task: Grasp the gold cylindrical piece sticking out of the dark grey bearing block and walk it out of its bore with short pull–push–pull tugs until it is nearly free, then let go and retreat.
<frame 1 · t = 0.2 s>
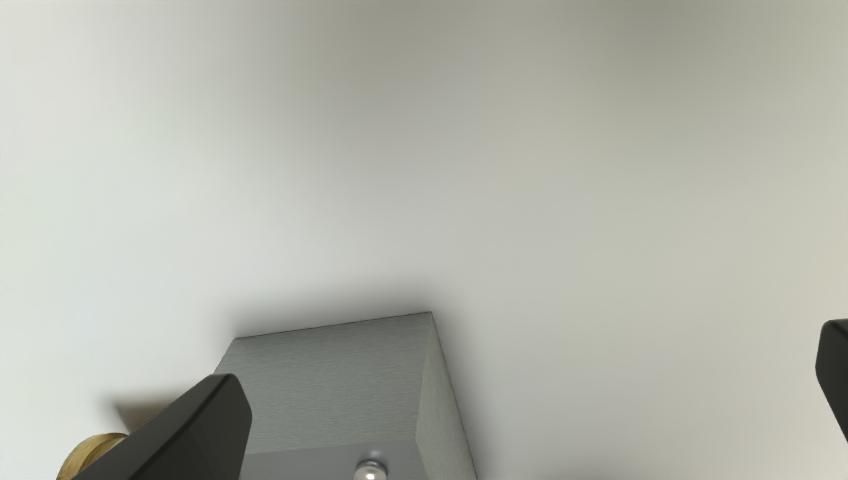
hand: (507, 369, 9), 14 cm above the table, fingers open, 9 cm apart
bearing block: (363, 416, 30), on the table
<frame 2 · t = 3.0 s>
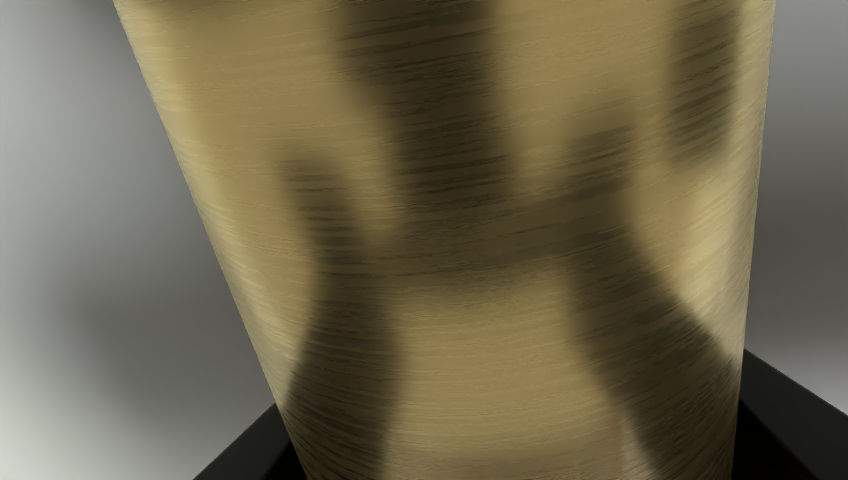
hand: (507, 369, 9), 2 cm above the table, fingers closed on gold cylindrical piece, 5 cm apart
gold cylindrical piece: (458, 106, 6), point 3 cm above the table, slide at 4.0 cm, touching gripper
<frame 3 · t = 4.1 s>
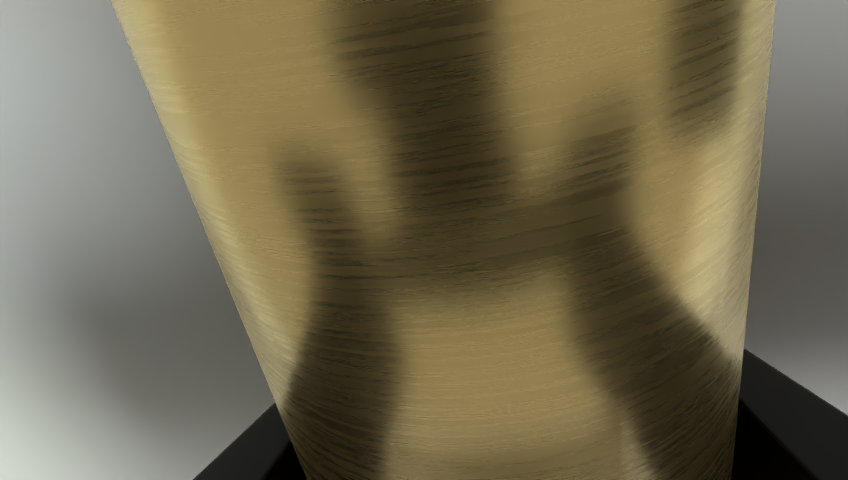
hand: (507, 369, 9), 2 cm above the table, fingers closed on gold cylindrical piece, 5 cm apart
gold cylindrical piece: (458, 107, 6), point 3 cm above the table, slide at 5.7 cm, touching gripper
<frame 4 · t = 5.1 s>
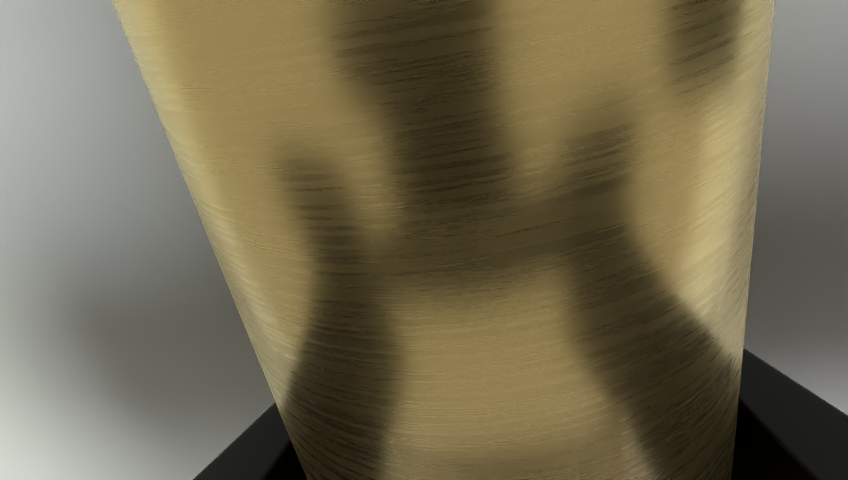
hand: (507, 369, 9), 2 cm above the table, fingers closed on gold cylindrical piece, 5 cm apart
gold cylindrical piece: (458, 106, 6), point 3 cm above the table, slide at 7.8 cm, touching gripper
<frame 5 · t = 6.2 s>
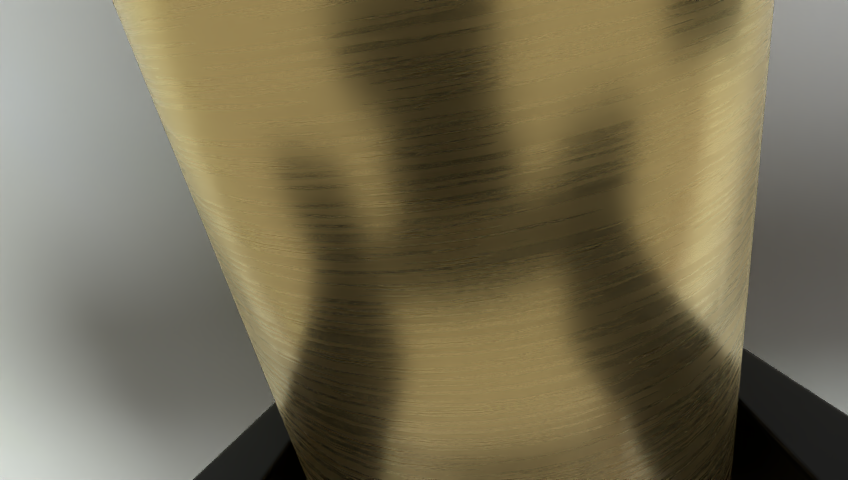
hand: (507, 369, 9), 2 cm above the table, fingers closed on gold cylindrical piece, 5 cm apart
gold cylindrical piece: (457, 105, 6), point 3 cm above the table, slide at 9.9 cm, touching gripper
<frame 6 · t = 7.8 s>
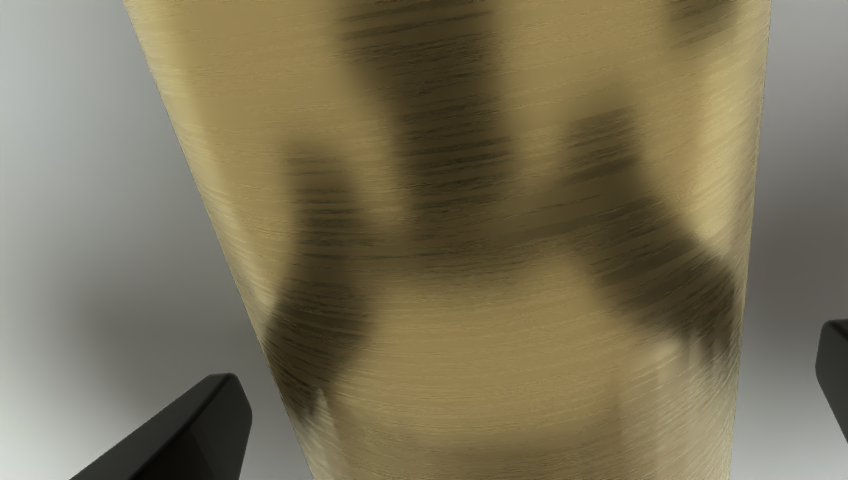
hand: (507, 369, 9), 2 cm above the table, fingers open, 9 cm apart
gold cylindrical piece: (459, 96, 6), point 3 cm above the table, slide at 9.9 cm
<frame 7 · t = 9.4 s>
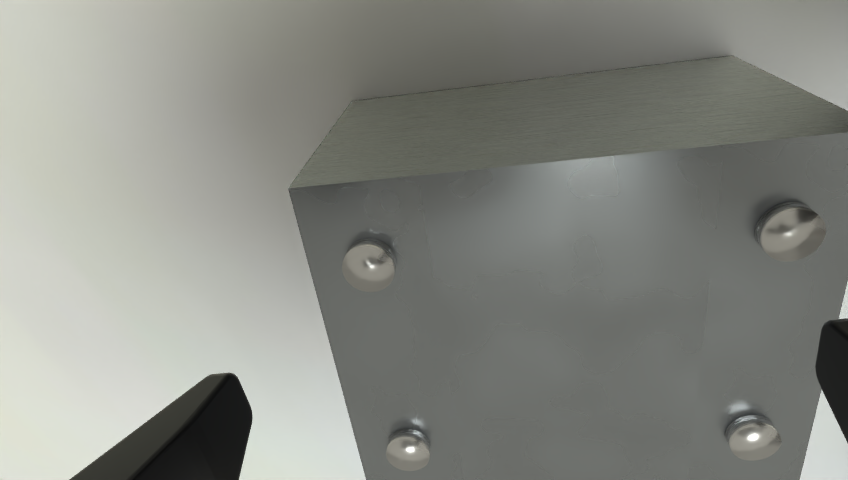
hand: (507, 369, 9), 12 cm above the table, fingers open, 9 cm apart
bearing block: (540, 219, 21), on the table
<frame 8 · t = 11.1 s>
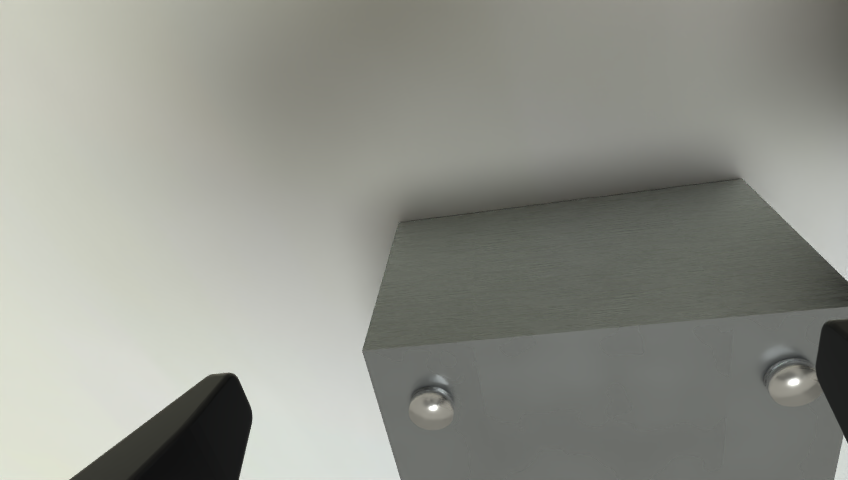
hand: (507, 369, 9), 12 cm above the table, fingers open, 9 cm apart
bearing block: (571, 315, 23), on the table
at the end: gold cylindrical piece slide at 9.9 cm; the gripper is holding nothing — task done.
